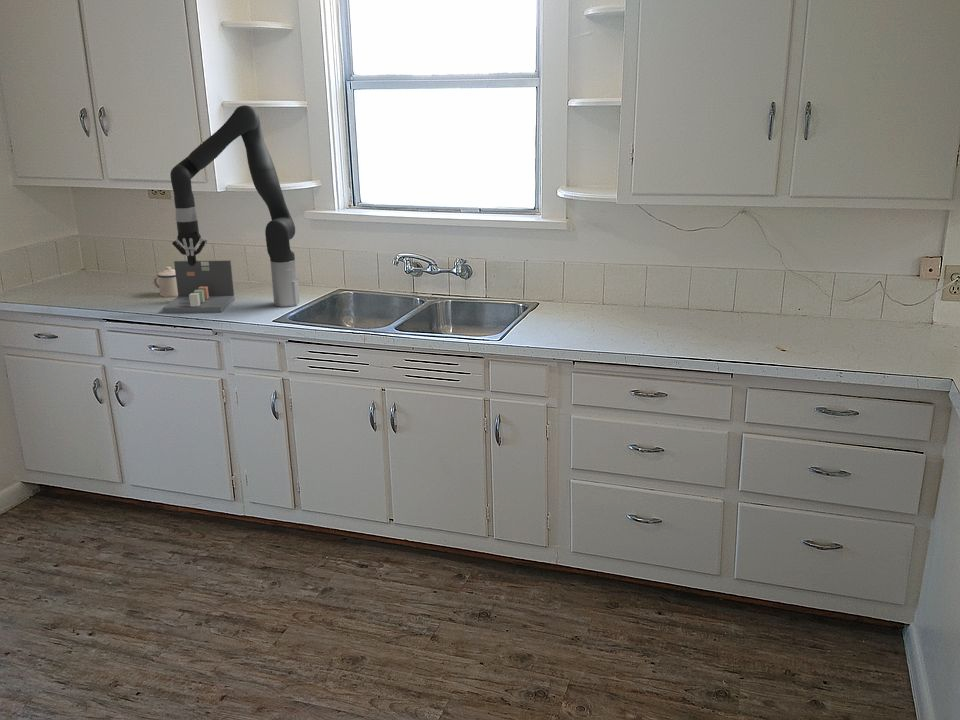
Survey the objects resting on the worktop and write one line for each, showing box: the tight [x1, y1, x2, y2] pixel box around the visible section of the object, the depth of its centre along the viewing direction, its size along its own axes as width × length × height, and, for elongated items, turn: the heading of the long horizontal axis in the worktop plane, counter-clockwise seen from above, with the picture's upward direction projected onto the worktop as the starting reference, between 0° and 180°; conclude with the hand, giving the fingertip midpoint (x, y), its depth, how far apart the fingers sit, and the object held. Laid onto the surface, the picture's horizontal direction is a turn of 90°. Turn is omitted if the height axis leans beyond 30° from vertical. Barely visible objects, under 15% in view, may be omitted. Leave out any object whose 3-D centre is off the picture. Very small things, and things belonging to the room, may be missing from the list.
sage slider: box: [194, 290, 205, 303], centre depth 333 cm, size 3×2×4 cm
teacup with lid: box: [153, 266, 178, 298], centre depth 354 cm, size 12×9×12 cm
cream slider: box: [189, 293, 200, 306], centre depth 328 cm, size 3×2×4 cm
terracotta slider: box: [198, 286, 209, 299], centre depth 338 cm, size 3×2×4 cm
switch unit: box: [162, 259, 236, 314], centre depth 334 cm, size 22×19×16 cm
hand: (192, 265), depth 329 cm, fingers closed
